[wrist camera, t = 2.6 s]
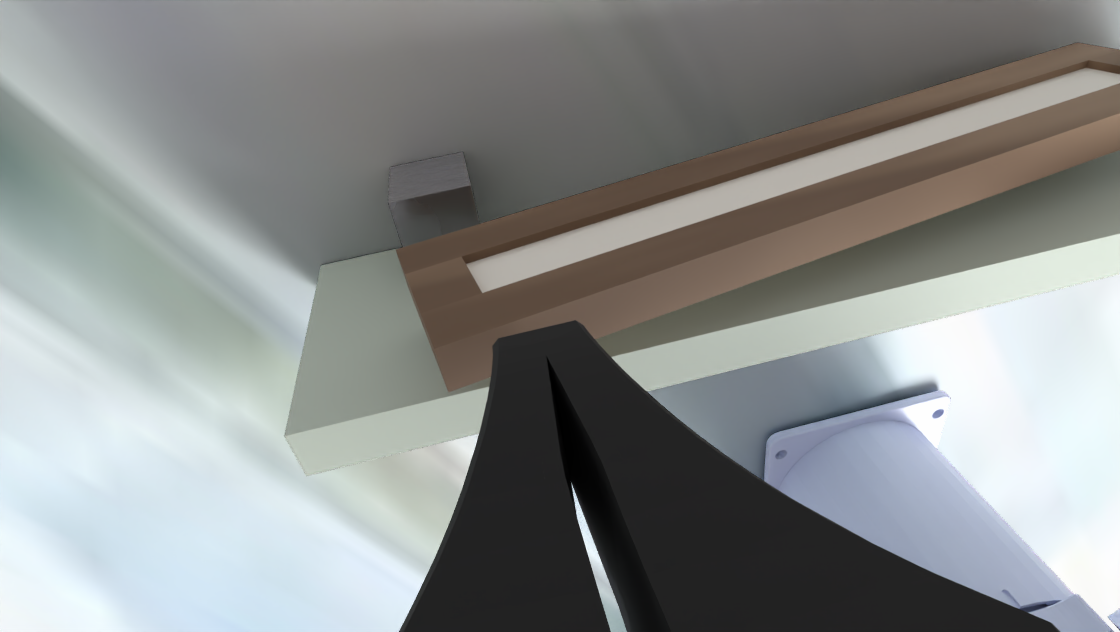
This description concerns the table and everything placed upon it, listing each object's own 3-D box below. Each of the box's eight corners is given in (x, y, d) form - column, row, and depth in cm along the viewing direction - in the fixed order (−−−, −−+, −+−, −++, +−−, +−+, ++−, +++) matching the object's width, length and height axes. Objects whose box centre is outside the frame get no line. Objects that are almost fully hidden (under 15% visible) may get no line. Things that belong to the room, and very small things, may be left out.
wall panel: (1119, 121, 21) (1381, 209, 16) (335, 299, 19) (306, 476, 13) (1163, 4, 19) (1484, 54, 13) (288, 188, 17) (231, 341, 11)
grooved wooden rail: (1065, 78, 19) (1225, 111, 16) (408, 287, 15) (448, 392, 11) (1076, 42, 18) (1244, 70, 15) (395, 249, 14) (434, 348, 11)
